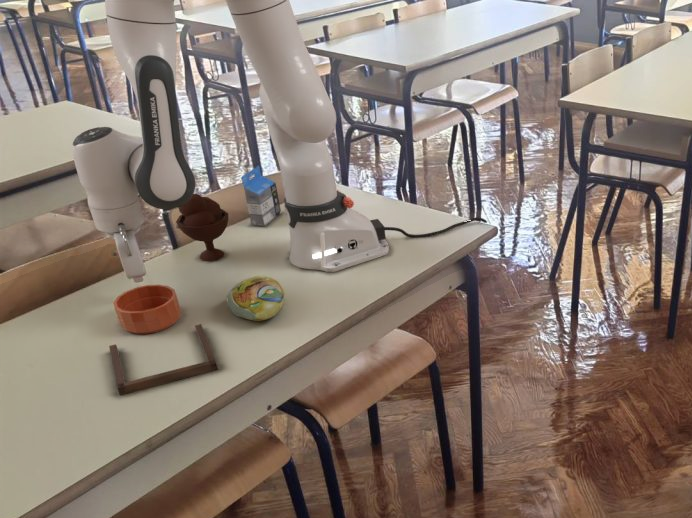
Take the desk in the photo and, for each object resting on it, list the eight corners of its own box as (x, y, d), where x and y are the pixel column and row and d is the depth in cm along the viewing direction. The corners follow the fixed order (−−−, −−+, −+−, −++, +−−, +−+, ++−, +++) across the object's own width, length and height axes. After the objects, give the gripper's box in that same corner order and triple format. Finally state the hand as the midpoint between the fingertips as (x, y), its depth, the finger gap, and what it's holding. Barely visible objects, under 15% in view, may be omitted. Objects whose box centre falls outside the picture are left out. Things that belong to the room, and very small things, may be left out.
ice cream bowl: (223, 268, 168) (206, 204, 160) (177, 264, 170) (159, 200, 162) (245, 248, 177) (231, 186, 168) (202, 244, 179) (186, 183, 170)
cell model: (286, 277, 159) (284, 284, 145) (284, 314, 161) (281, 324, 147) (232, 272, 157) (224, 278, 142) (230, 309, 158) (222, 319, 144)
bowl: (177, 301, 156) (170, 279, 153) (186, 326, 148) (179, 303, 145) (118, 314, 152) (111, 292, 149) (124, 340, 144) (116, 318, 141)
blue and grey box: (265, 227, 187) (255, 178, 179) (250, 225, 187) (240, 177, 180) (282, 213, 194) (273, 166, 186) (268, 212, 194) (258, 164, 187)
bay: (203, 330, 147) (201, 323, 146) (218, 369, 136) (216, 362, 135) (111, 353, 141) (108, 345, 140) (119, 395, 130) (117, 388, 129)
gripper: (141, 231, 140) (161, 297, 148) (130, 195, 155) (148, 257, 163) (104, 238, 138) (127, 305, 146) (96, 200, 153) (117, 263, 161)
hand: (138, 279), depth 154 cm, fingers closed
